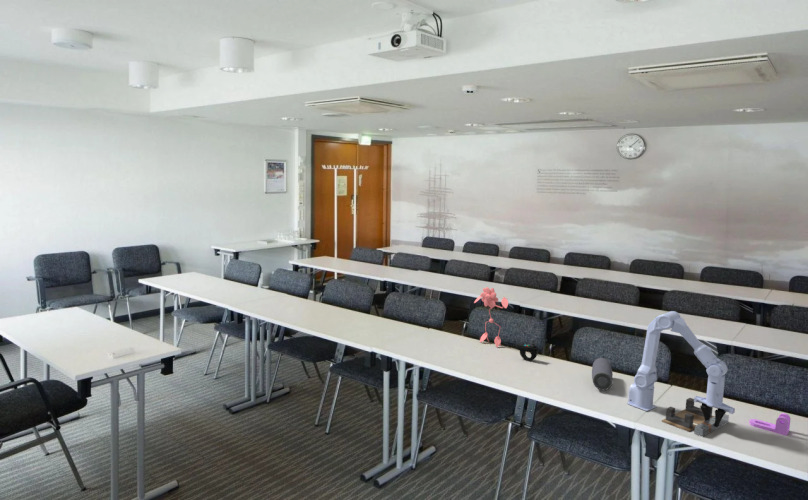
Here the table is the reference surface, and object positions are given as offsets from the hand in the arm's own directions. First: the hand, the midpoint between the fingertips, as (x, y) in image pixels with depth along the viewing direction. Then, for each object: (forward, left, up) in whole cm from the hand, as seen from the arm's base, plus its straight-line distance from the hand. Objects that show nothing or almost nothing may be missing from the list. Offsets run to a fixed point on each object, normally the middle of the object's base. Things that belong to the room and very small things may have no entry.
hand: (711, 424), depth 217 cm
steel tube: (0, 0, -1) cm, 1 cm away
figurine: (-127, +2, -2) cm, 127 cm away
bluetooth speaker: (-53, +5, -2) cm, 53 cm away
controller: (-97, +2, -2) cm, 97 cm away
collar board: (-9, 0, -1) cm, 9 cm away
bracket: (+13, +19, -2) cm, 23 cm away
